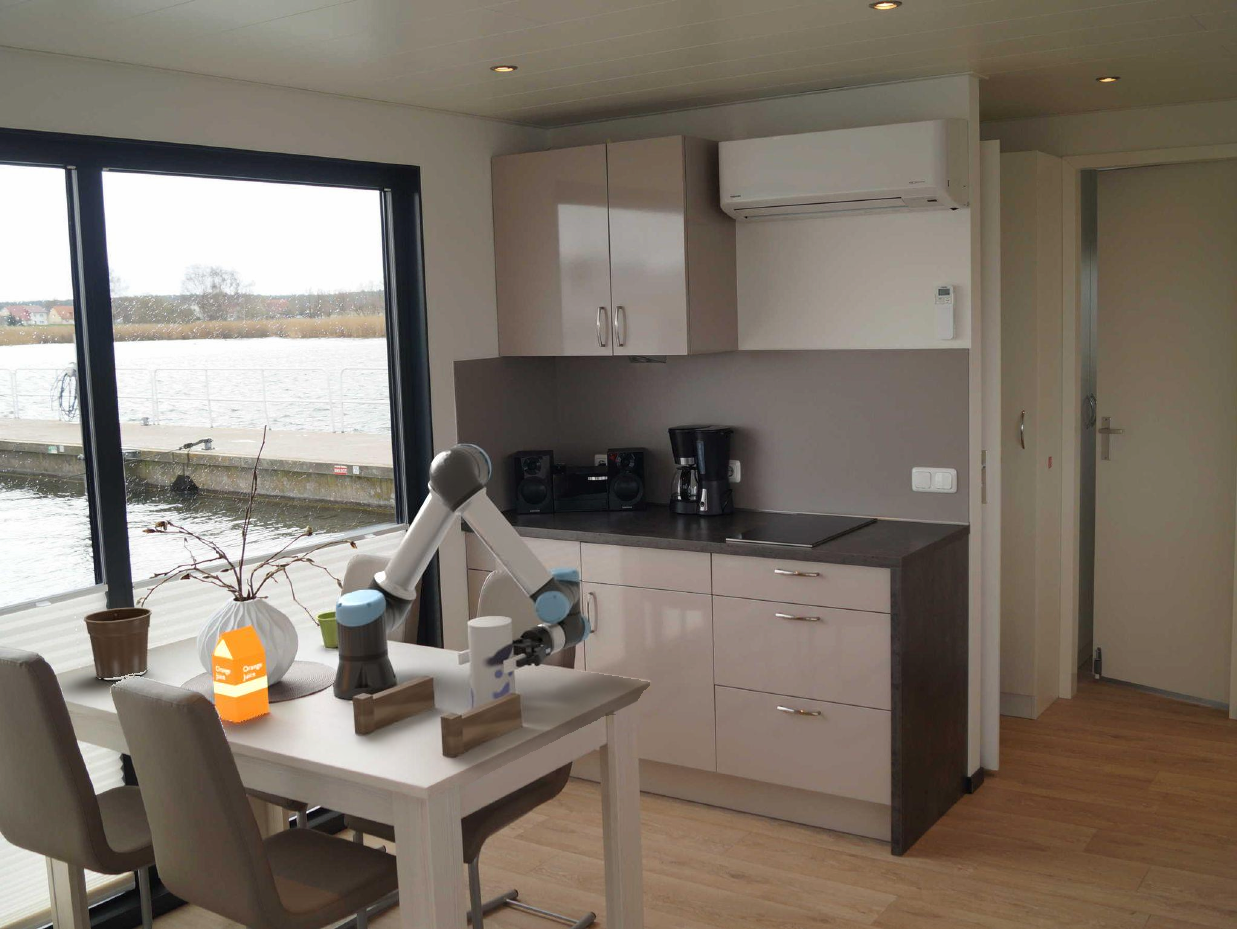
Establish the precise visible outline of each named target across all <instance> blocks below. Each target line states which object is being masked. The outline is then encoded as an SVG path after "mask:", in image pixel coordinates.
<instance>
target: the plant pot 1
mask: <svg viewBox="0 0 1237 929" xmlns="http://www.w3.org/2000/svg"><path fill="white" fill-rule="evenodd" d="M152 614H153V611H152V609H149V608H147V607H146V608H145V607H121V608H120V607H118V608H111V609H106V610H101V611H96V612H92V613H90V614H87V615H85V616H84V617H83V621H84V622H85V624H86V625H85V626H86V630H87V634H88V636H89V638H90V639H89V640H90V645H91V649H92V657H93V663H94V668H95V669H94V670H95V674H96V677H97V676H98V677H99V678H113V677H121V676H125V675H128V674H132V673H133V674H134V673H140V672H144V671H145V670H147V671H148V650H149V649H148V648H149V647H148V644H149V628H150V627H151V615H152ZM129 676H133V675H129ZM124 678H125V677H124Z"/></svg>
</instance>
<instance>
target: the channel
mask: <svg viewBox="0 0 1237 929" xmlns="http://www.w3.org/2000/svg"><path fill="white" fill-rule="evenodd" d="M434 680H435V679H434V677H433V676H429V675H424V676H422V677H419V678H418V677H417V678H415V679H413V680H409V681H407V682H404V683H402V684H399V685H397V686H396V687H393V688H390V689H387V690H385V691H382V692H379V693H376V694H374V695H369V694H365V693H362V694H360V695H357V696H354V697H353V699H352V708H353V724H354V725H353V726H354V733H355V734H358V735H361V736H367V735H370V734H372V733H374V732H376V731H378V730H380V729H383V728H385V727H388V726H391V725H394V724H395V723H398V722H401V721H403V720H407V719H408V718H410V717H411V718H412V716H413V717H414V716H415V715H419V714H421V713H423V712H427V711H429V710H430V709H433V708H436V702H435V700H436V699H435V682H434ZM521 696H522V695H521V694H520V693H516V692H515V693H509V694H507V695H505V696H502V697H500V698H497V699H495V700H493V701H490V702H488V703H485V704H483V705H480V706H478V707H476V708H473V709H472V708H471V709H469V710H467V711H464V712H460V713H457V712H448V713H446V714H444V715H441V716H440V730H441V733H440V734H441V748H442V756H445V755H446V756H445V757H449V758H453V757H454V758H455V756H456V757H458V756H460V755H463V754H464V753H465V752H464V751H466V752H468V751H470V750H473V749H474V748H476V746H477V747H478V746H479V747H480V746H481V745H483V744H485V743H488V742H490V741H492V740H494V739H497V738H498V737H499V738H500V737H501V736H503V735H505V734H507V733H510V732H511V731H514V730H516V729H518V728H520V727H522V726H523V720H522V719H523V718H522V702H521V701H522V700H521V699H522V698H521ZM469 749H470V750H469ZM462 753H463V754H462ZM459 754H460V755H459Z"/></svg>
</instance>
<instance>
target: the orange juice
mask: <svg viewBox="0 0 1237 929" xmlns="http://www.w3.org/2000/svg"><path fill="white" fill-rule="evenodd" d="M265 651H266V650H265V649H264V645H263V644H262V642H261V640H260V638H259V636H258V634H257V632H256V630H255V628H254V626H253V624H251V625H247V626H244V627H240V628H235V629H233V630H230V631H226V632H223V633H220V636H219V638H218V640H217V643H216V645H215V648H214V650H213V653H212V655H211V661H212V674H213V676H212V677H213V693H214V702H215V704H214V705H215V709H216V708H217V710H218V711H219V714H220V717H222V719H221V720H223V719H227V720H232V721H234V722H233V723H235V722H239V723H242V722H244V721H243V720H245V721H247V720H246V719H248V720H251V719H252V718H251V717H254V718H256V717H259V716H262V715H264V713H265V714H268V713H270V706H269V691H268V687H269V686H268V675H267V665H266V663H267V662H266V652H265ZM261 714H262V715H261ZM258 715H259V716H258ZM255 716H256V717H255ZM250 718H251V719H250ZM227 720H226V721H227ZM241 721H242V722H241Z"/></svg>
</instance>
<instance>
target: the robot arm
mask: <svg viewBox="0 0 1237 929" xmlns="http://www.w3.org/2000/svg"><path fill="white" fill-rule="evenodd" d="M491 463H492V462H491V460H490V456H489V455H488V454H487V452H486V451H485V450H484V449H483V448H481V447H479V446H478V445H475V444H470V443H460V444H457V445H455V446H453V447H450V448H446V449H444V450H442V451H440V452H439V453H438V454H437V455H436V456H435V457H434V458H433V460H432V462H431V463H430V468H429V479H430V480H429V481H428V484H427V485H428V486H427V487H428V489H429V493H428V495H427V497H426V498H425V500H424V502H423V504H422V506H421V507H420V509H419V510H418V512H417V514H416V516H415V517H414V519H413V521H412V523H411V524H410V526H409V528H408V530H407V531H406V533H405V535H404V536H403V539H402V540H401V542H400V544H399V545H398V546H397V549H396V550H395V552H394V553H393V555H392V557H391V559H390V560H389V562H388V564H387V565H386V567H385V569H384V570H383V571H379V572H376V573H375V574H374V576H373V578H372V579H371V581H370V582H369V584H368V586H367V588H366V589H359V590H354V591H352V592H348V593H345V594H343V595H342V596H340V597H339V598H338V599H337V601H336V604H335V611H336V613H335V616H336V624H337V638H338V646H337V647H338V648H337V649H338V652H337V653H338V664H337V670H336V673H335V679H334V681H333V683H332V684H333V685H332V688H333V690H332V691H333V695H335V697H337V698H340V699H345V700H346V699H347V700H353V697H354V696H357V695H360V694H362V693H365V694H369V695H374V694H376V693H379V692H382V691H385V690H387V689H390V688H393V687H396V686H398V678H397V675H396V674H395V671H394V667H393V665H392V663H391V659H390V658H389V651H388V650H389V649H388V635H389V634H390V633H391V632H392V631H394V630H396V629H398V628H399V627H401V625H403V624H404V623H405V621H406V620H407V618H408V616H409V615H410V612H411V606H412V605H413V603H414V600H415V599H416V597H417V592H416V588H415V587H416V585H417V583H418V582H419V581H420V579H421V577H422V575H423V574H424V572H425V570H426V569H427V567H428V565H429V563H430V561H431V560H432V559H433V556H434V555H435V554H436V551H437V550H438V548H439V546H440V545H441V543H442V541H443V540H444V538H445V536H446V534H447V533H448V531H449V529H450V527H452V524H453V523H454V521H455V520H456V518H457V516H459V515H460V516H461V517H462V518H463V520H464V521H465V522H466V523H467V524H468V526H469V527H470V528H471V530H472V531H473V532H474V533H475V534H476V536H477V537H478V538H479V539H480V540H481V541H482V543H483V544H484V545H485V546H486V548H487V549H488V550H489V551H490V552H491V554H492V555H493V556H494V557H495V559H496V560H497V561H498V562H499V563H500V564H501V566H502V567H503V568H504V569H505V571H506V572H507V573H508V574H509V576H511V578H512V579H513V580H514V582H515V583H517V585H518V586H519V588H521V590H522V591H523V592H524V594H525V595H526V596H527V597H528V598H529V599H530V601H531V602H532V604H534V605H535V606H534V610H535V611H534V612H535V613H536V616H537V617H538V619H539V620H541V621H542V622H543V623H541V624H537V626H533V627H530V628H527V629H526V630H524V631H523V632H522V634H521V636H520V637H516V638H513V653H514V657H512V658H510V659H507V660H504V661H503V664H504V673H508V672H511V671H514V672H515V671H516V670H519V669H520V668H521V669H522V668H524V667H526V666H528V667H531V666H532V665H534V667H539V666H541V664H542V663H543V662H544V660H545V659H546V658H547V657H549V656H552V655H553V654H555V653H558V652H560V651H562V650H565V649H568V648H570V647H574V646H577V645H579V644H580V643H583V642H584V641H586V640H587V639H588V638H589V636H590V634H591V623H590V622H589V620H588V616H586V615H585V614H583V613H582V611H581V610H582V608H581V580H580V579H581V578H580V573H579V570H578V569H577V568H573V567H558V568H553V569H551V570H550V571H549V570H548V568H547V567H546V566H545V565H544V564H543V562H542V561H541V559H540V558H538V556H537V555H536V553H534V551H533V550H532V549H531V548H530V546H529V545H528V544H527V543H526V542H525V540H524V539H523V537H522V536H520V534H519V533H518V532H517V531H516V529H515V528H514V527H513V526H512V524H511V523H510V522H509V521H508V520H507V519H506V517H505V516H504V515H503V514H502V513H501V511H500V510H499V509H498V508H497V506H496V505H495V504H494V502H492V501H491V499H490V498H489V497H488V495H487V487H486V486H485V485H486V484H487V483H488V481H489V479H490V477H491V474H492V464H491ZM457 654H458V655H457V656H458V665H460V666H462V665H465V664H469V663H470V661H469V648H468V649H466V650H462V651H461V652H458V653H457Z"/></svg>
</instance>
